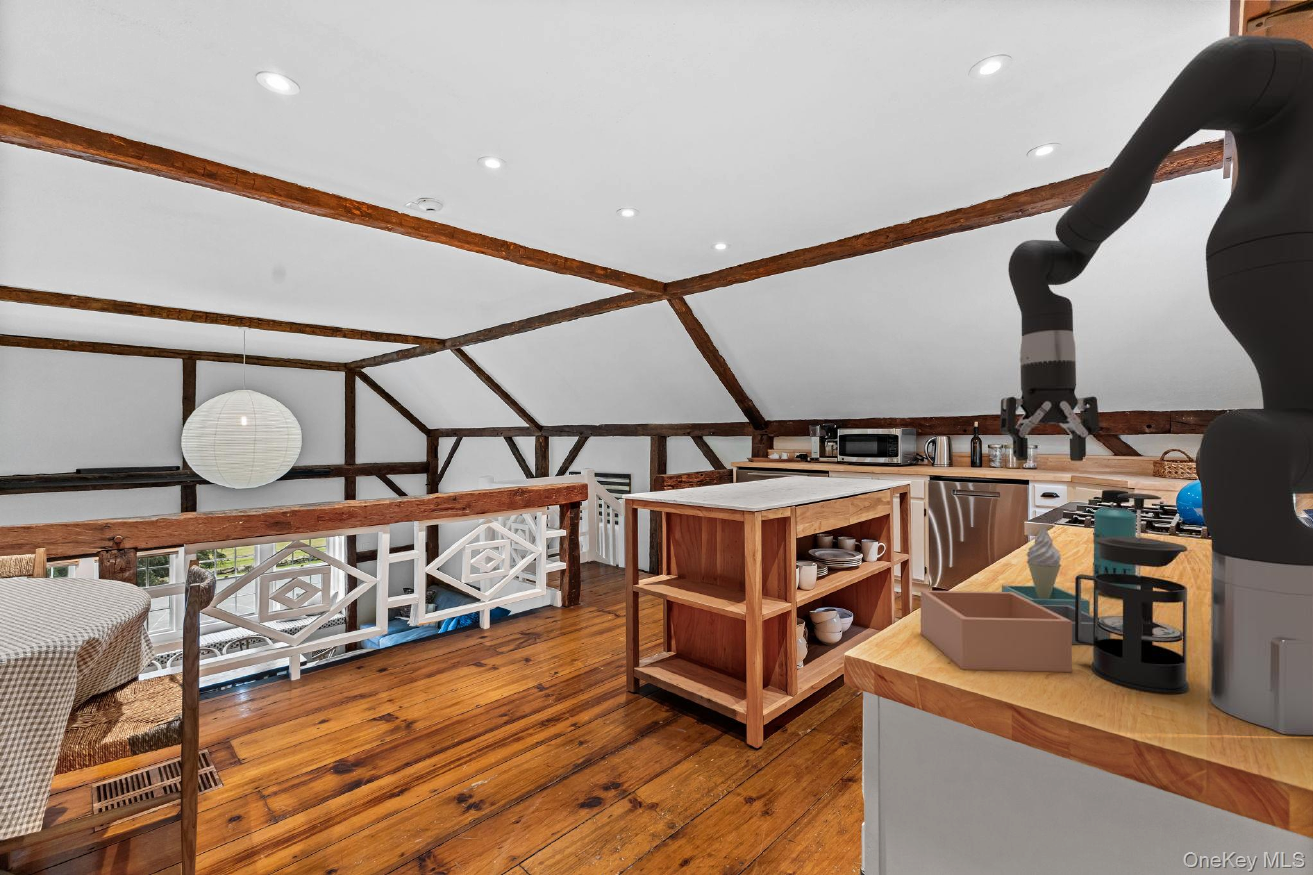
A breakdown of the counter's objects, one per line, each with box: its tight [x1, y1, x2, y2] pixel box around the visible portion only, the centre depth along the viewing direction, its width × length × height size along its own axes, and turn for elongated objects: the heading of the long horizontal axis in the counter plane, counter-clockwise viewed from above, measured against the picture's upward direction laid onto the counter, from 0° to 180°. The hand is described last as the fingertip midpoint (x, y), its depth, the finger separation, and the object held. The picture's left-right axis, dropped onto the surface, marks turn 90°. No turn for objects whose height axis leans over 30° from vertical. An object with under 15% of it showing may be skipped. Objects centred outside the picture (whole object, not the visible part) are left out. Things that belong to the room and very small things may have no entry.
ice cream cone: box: [1026, 523, 1062, 599], centre depth 100 cm, size 5×5×15 cm
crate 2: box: [1040, 605, 1112, 645], centre depth 88 cm, size 9×9×3 cm
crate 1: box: [1001, 584, 1091, 615], centre depth 100 cm, size 9×9×3 cm
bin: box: [920, 590, 1073, 673], centre depth 81 cm, size 14×14×6 cm
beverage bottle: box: [1092, 489, 1137, 589], centre depth 108 cm, size 6×7×20 cm
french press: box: [1074, 492, 1190, 695], centre depth 73 cm, size 12×9×23 cm
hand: (1049, 460), depth 95 cm, fingers open, 8 cm apart
